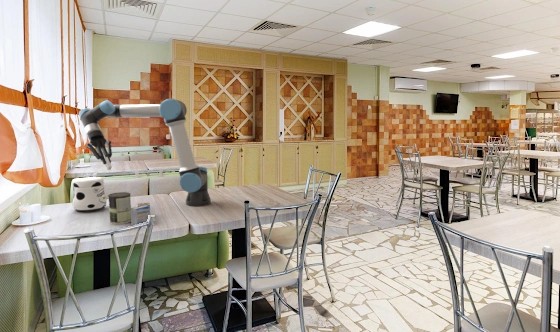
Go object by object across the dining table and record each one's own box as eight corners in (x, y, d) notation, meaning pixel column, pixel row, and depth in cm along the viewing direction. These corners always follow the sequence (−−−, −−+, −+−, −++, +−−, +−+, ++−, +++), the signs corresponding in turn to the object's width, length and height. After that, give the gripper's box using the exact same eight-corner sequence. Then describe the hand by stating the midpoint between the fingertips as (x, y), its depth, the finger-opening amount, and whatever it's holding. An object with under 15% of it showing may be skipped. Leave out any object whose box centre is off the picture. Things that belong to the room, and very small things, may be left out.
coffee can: (106, 224, 171) (104, 196, 170) (114, 218, 182) (112, 192, 180) (128, 223, 172) (126, 196, 171) (134, 218, 183) (133, 192, 181)
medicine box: (136, 226, 168) (136, 209, 167) (131, 225, 170) (130, 207, 169) (150, 222, 175) (149, 205, 174) (145, 221, 177) (144, 204, 176)
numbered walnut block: (150, 215, 189) (149, 202, 188) (150, 217, 184) (149, 204, 183) (138, 216, 187) (137, 203, 186) (138, 218, 181) (137, 205, 181)
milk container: (111, 209, 201) (109, 179, 199) (79, 215, 189) (76, 182, 187) (100, 204, 213) (98, 175, 211) (69, 209, 200) (66, 179, 198)
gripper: (104, 136, 200) (120, 169, 194) (80, 138, 191) (95, 174, 185) (108, 128, 195) (123, 162, 189) (83, 130, 186) (98, 166, 180)
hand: (109, 168), depth 187 cm, fingers closed
